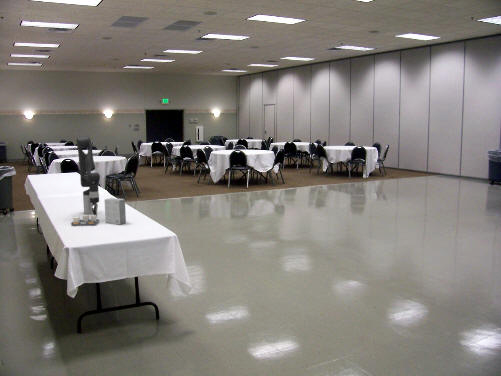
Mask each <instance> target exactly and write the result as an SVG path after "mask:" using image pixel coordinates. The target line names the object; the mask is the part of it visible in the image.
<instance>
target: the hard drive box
mask: <svg viewBox="0 0 501 376" xmlns="http://www.w3.org/2000/svg"><path fill="white" fill-rule="evenodd" d="M104 212H105V213H104V214H105V215H104V216H105V223H106V224H113V225H123V224H126V223H127V217H126V199H125V198H114V197H113V198H112V197H109V198H106V199H105V198H104Z"/></svg>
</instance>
